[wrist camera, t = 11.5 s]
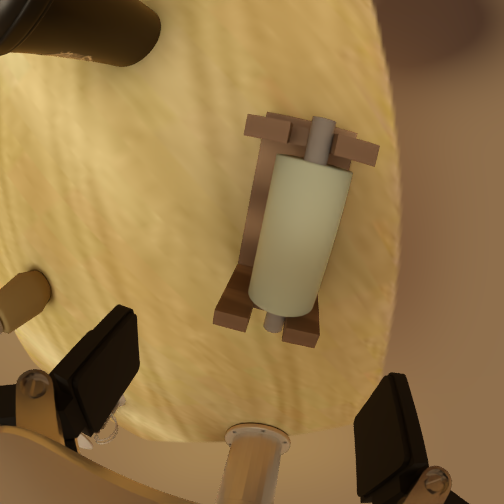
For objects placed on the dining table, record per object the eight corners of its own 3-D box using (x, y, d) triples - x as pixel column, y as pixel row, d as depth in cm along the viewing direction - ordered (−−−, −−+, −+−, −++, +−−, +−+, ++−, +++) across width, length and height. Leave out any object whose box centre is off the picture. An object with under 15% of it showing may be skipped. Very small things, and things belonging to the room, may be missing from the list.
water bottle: (86, 55, 27) (-61, 40, 6) (131, -7, 23) (0, -66, 2) (132, 86, 28) (-42, 74, 7) (184, 18, 24) (43, -72, 3)
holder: (310, 294, 34) (310, 356, 24) (237, 276, 35) (211, 332, 25) (354, 133, 27) (382, 131, 17) (268, 113, 28) (250, 99, 18)
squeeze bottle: (34, 299, 45) (-25, 349, 29) (24, 261, 42) (-44, 307, 26) (60, 307, 44) (-3, 365, 28) (49, 267, 41) (-25, 321, 24)
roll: (277, 303, 31) (315, 336, 27) (229, 315, 28) (266, 355, 24) (321, 122, 24) (377, 134, 20) (269, 107, 20) (329, 114, 16)
